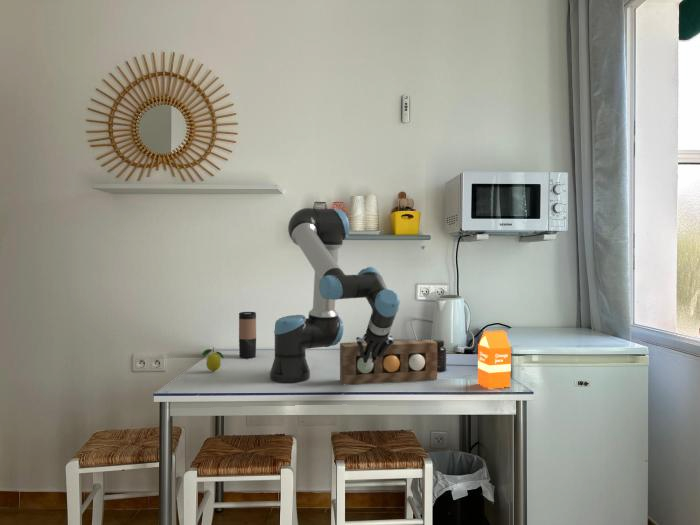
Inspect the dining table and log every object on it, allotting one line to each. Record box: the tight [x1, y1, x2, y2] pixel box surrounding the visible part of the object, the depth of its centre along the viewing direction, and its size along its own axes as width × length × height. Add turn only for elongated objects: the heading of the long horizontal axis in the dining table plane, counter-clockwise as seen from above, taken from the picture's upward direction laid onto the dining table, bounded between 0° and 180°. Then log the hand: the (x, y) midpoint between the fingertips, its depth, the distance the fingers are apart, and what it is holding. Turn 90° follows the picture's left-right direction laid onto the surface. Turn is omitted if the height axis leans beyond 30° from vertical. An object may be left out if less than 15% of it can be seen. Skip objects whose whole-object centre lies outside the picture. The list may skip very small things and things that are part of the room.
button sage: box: [356, 356, 374, 373], centre depth 189 cm, size 6×3×6 cm, turn 103°
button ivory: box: [408, 353, 425, 371], centre depth 193 cm, size 6×3×6 cm, turn 103°
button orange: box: [382, 354, 400, 372], centre depth 191 cm, size 6×3×6 cm, turn 103°
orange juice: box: [477, 330, 512, 390], centre depth 186 cm, size 8×9×20 cm
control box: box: [339, 339, 438, 385], centre depth 193 cm, size 36×7×14 cm, turn 103°
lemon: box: [201, 346, 225, 373], centre depth 204 cm, size 7×6×10 cm
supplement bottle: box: [432, 339, 447, 373], centre depth 209 cm, size 7×7×12 cm
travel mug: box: [238, 311, 257, 360], centre depth 231 cm, size 8×8×20 cm
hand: (366, 365), depth 186 cm, fingers closed
